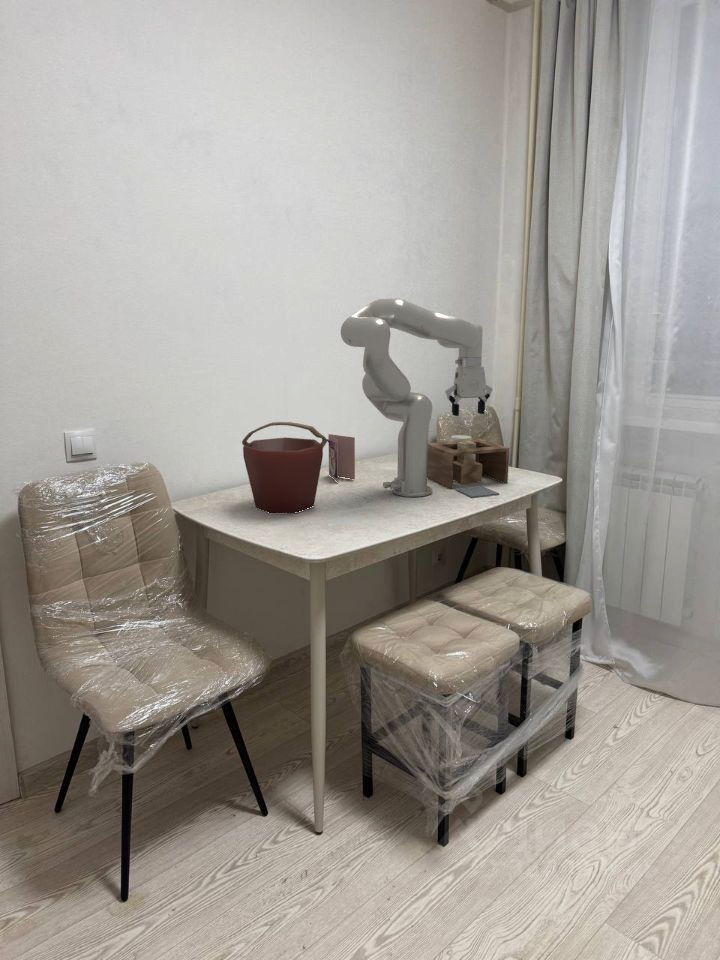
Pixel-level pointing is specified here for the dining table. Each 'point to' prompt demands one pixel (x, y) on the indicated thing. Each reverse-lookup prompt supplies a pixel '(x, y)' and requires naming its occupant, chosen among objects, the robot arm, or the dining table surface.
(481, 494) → the slate mat
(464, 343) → the robot arm
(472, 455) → the birch block
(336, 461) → the greeting card
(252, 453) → the bucket
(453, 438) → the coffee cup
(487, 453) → the slot box
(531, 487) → the dining table surface
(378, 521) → the dining table surface
